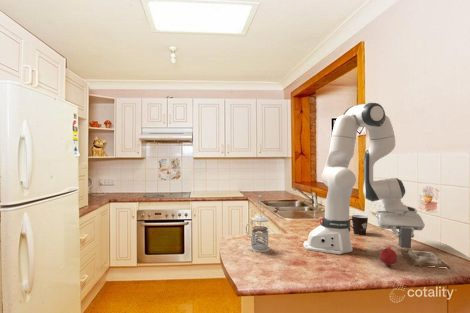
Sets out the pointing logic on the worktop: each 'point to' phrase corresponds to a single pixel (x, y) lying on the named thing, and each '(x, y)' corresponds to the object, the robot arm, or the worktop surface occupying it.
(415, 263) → the socket board
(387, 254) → the onion
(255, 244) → the french press
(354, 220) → the coffee mug
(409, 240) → the plug
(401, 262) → the worktop surface
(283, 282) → the worktop surface
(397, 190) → the robot arm
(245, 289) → the worktop surface
